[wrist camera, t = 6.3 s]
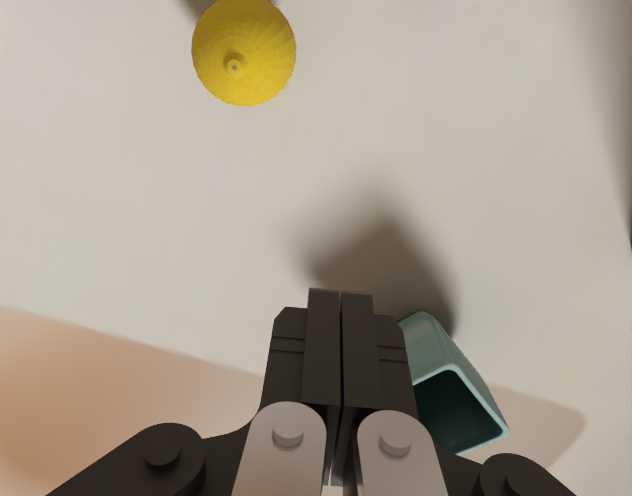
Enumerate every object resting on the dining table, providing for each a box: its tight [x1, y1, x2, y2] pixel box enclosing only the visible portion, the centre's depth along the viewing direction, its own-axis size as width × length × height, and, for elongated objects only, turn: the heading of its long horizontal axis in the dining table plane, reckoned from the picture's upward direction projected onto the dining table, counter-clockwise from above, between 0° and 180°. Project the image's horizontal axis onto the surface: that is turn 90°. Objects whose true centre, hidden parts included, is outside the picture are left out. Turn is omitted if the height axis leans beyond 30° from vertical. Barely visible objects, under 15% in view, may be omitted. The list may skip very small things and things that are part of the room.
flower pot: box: [397, 311, 510, 456], centre depth 39 cm, size 9×9×9 cm
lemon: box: [191, 0, 296, 106], centre depth 27 cm, size 6×6×8 cm
